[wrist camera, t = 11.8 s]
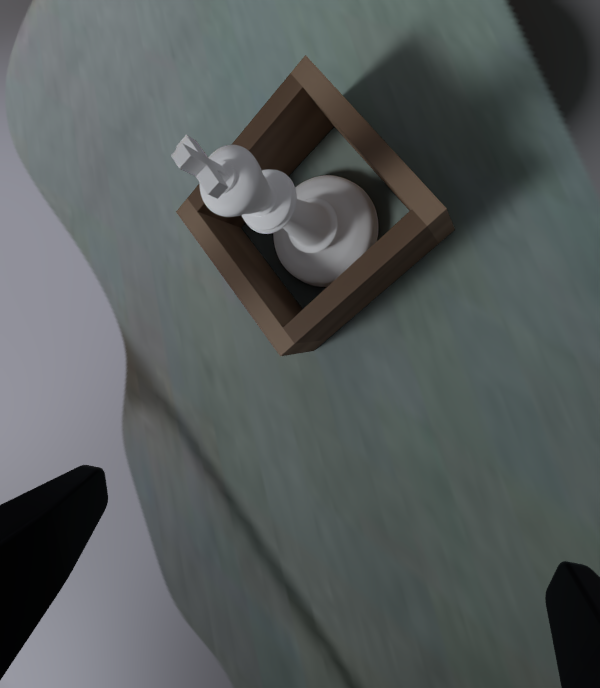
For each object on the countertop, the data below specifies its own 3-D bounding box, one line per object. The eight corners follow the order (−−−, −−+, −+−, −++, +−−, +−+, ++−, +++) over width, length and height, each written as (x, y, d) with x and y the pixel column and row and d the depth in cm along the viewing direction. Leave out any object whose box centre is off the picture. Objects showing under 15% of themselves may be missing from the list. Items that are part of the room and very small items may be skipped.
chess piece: (336, 154, 19) (195, 3, 10) (401, 238, 18) (310, 153, 9) (260, 228, 21) (81, 157, 12) (315, 308, 20) (167, 297, 11)
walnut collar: (454, 229, 17) (446, 208, 14) (314, 350, 20) (280, 356, 17) (336, 99, 19) (305, 55, 16) (222, 227, 22) (176, 211, 19)
